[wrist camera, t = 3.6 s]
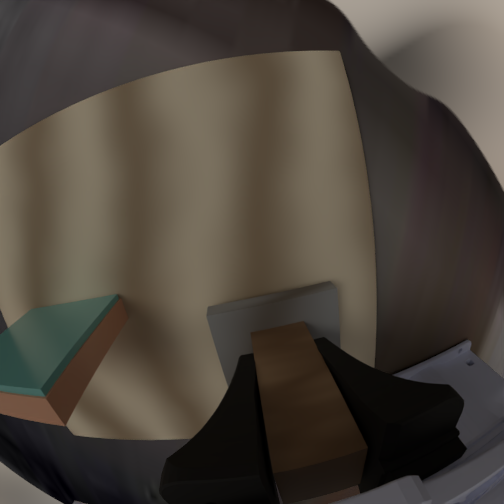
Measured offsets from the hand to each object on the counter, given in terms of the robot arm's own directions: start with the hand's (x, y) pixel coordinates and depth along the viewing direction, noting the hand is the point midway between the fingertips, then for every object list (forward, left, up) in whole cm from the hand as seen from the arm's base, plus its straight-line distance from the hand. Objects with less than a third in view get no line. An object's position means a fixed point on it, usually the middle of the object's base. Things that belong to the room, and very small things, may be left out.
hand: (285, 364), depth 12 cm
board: (+6, -3, -4) cm, 8 cm away
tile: (+11, -3, -3) cm, 12 cm away
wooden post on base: (0, 0, -2) cm, 2 cm away
